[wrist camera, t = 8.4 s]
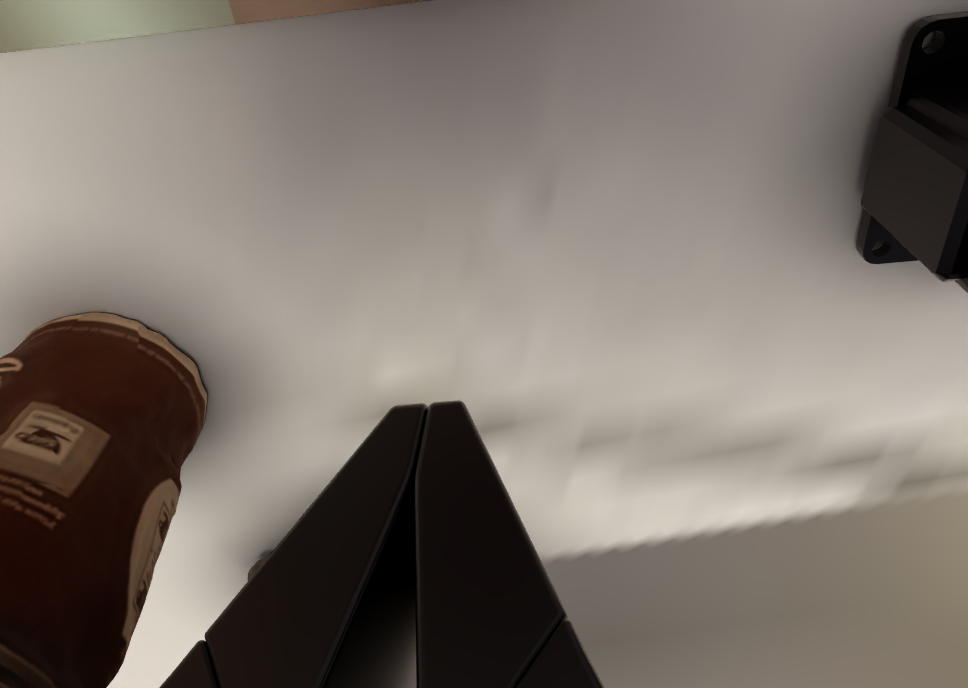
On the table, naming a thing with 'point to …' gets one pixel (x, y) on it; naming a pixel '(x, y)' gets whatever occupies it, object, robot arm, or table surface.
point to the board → (144, 17)
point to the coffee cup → (86, 491)
